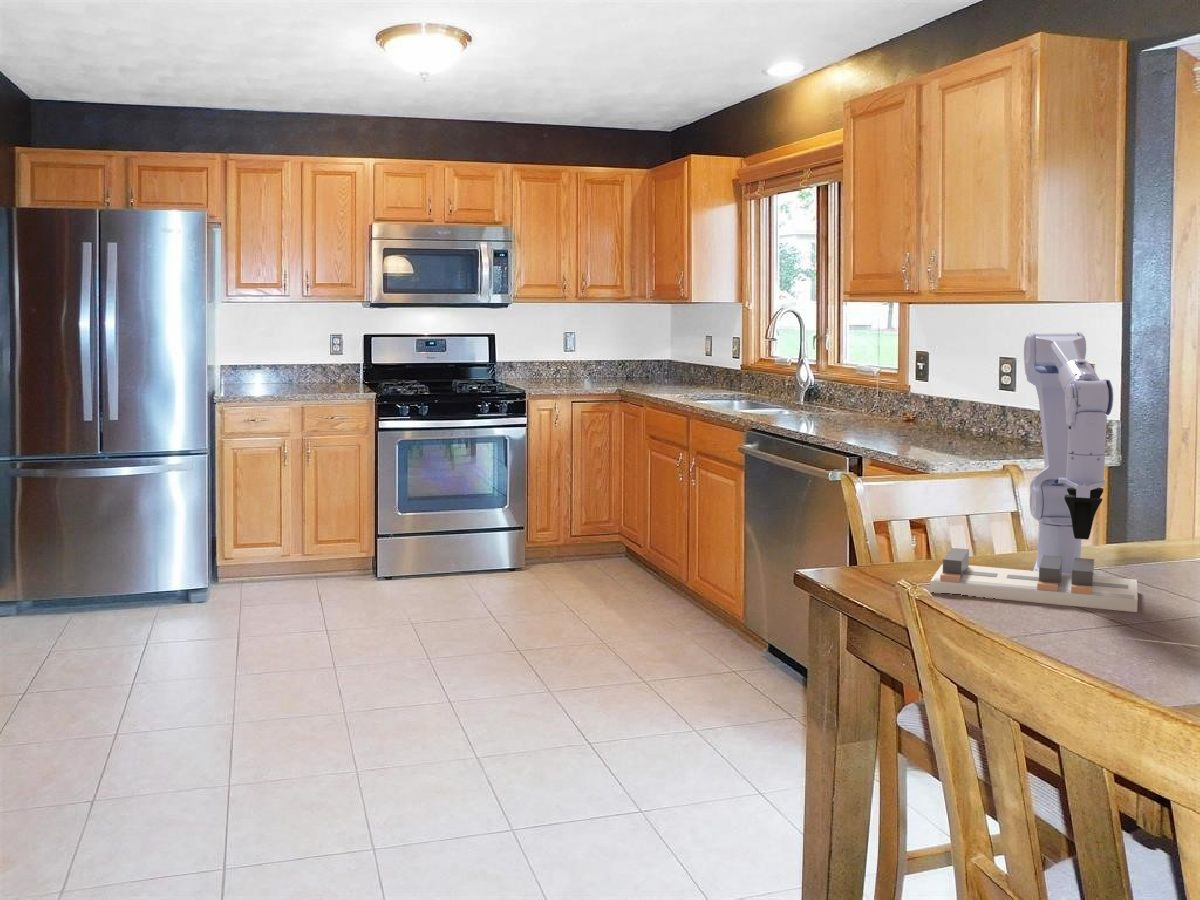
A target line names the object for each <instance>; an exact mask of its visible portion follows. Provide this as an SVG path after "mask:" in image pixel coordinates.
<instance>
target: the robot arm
mask: <svg viewBox="0 0 1200 900" xmlns="http://www.w3.org/2000/svg"><path fill="white" fill-rule="evenodd" d="M1086 355H1087V340H1086V338H1085V336H1084V335H1083V333H1082V332H1079V331H1077V332H1070V333H1069V332H1061V333H1060V332H1057V333H1056V332H1055V333H1054V332H1045V333H1044V332H1043V333H1042V332H1041V333H1039V332H1038V333H1035V332H1029V333H1028V335H1026V337H1025V339H1024V344H1023V362H1024V373H1025V376H1026V381H1027V382H1028V383H1029V384H1031V385H1032V386H1035V389H1036V394H1037V398H1038V406H1039V417H1040V428H1041V439H1042V448H1043V459H1044V469H1042V470H1041V471H1039V472H1038V473H1037V474H1035V475H1034V476H1033V478H1032V480H1031V481H1030V484H1029V488H1030V489H1029V490H1030V491H1029V492H1030V494H1029V510H1030V515H1031V516H1032V517H1033V518H1034V519H1035V520H1037V521H1038V532H1037V556H1036V557H1037V558H1036V561H1035V563H1034V567H1033V570H1032V571H1039V567H1040V564H1041V561H1042V558H1043V555H1049V556H1061V557H1062V573H1064V574H1072V569H1073V564H1074V559H1075V558H1082V540H1089V538H1090V536H1091V533H1092V527H1093V524H1094V519H1095V516H1096V513H1097V510H1099V509H1098V508H1099V507H1100V505H1101V504H1102V501H1103V498H1101V496H1102V495H1103V493H1104V488H1103V487H1105V485H1106V480H1105V467H1106V466H1105V464H1106V462H1105V461H1106V446H1107V445H1106V442H1107V425H1108V424H1107V423H1108V421H1107V420H1108V416H1109V415H1110V414H1111V412H1112V410H1113V405H1114V388H1113V385H1112V382H1111V380H1110V379H1109V378H1107V379H1106V378H1104V379H1100V377H1099V376H1098V374H1097V373H1096V371H1095V369H1094V367H1093V366H1092V365H1091V363H1090V362H1089V361H1087V360H1086Z"/></svg>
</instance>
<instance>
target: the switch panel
mask: <svg viewBox="0 0 1200 900" xmlns="http://www.w3.org/2000/svg"><path fill="white" fill-rule="evenodd" d="M1137 581H1138V579H1135V578H1122V577H1111V576H1110V577H1109V576H1099V575H1098V576H1097V575H1093V585H1092V586H1083V585H1072V574H1064V573H1062V575H1061V579H1060V583H1059V587H1058V583H1049V582H1039V571H1033V570H1029V569H1028V570H1027V569H1026V570H1025V569H1017V568H1016V569H1015V568H1002V567H993V566H979V565H969V566H968V568H967V570H966V571H965V573H964V575H963V576H962V578H961V579H960V575H958V574H947V573H943V563H942V564H941V565H940V566H939V568H938V570H937V571H936V572H935V573H934V575H933V576H932V578H931V579H930V583H929V585H930V586H929V589H930V590H929V593H932V592H934V593H933V594H941V593H954V594H961V595H960V596H962V595H968V596H967V597H972V596H976V597H975V598H983V597H985V598H986V599H993V598H995V599H996V600H1007V601H1015V602H1016V601H1017V602H1025V603H1026V602H1027V603H1038V604H1048V605H1058V606H1068V607H1079V608H1088V609H1099V610H1110V611H1122V612H1131V613H1138V600H1139V599H1138V582H1137Z"/></svg>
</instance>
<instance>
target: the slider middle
mask: <svg viewBox="0 0 1200 900" xmlns="http://www.w3.org/2000/svg"><path fill="white" fill-rule="evenodd" d="M1061 575H1062V557H1061V556H1049V555H1043V558H1042V561H1041V564H1040V567H1039V582H1049V583H1058V587H1059V583H1060V579H1061Z"/></svg>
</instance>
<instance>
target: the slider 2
mask: <svg viewBox="0 0 1200 900" xmlns="http://www.w3.org/2000/svg"><path fill="white" fill-rule="evenodd" d="M1094 571H1095V559H1094V558H1085V557H1081V558H1075V559H1074V564H1073V569H1072V585H1083V586H1092V585H1093V576H1095V575H1094V574H1095V573H1094Z"/></svg>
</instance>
